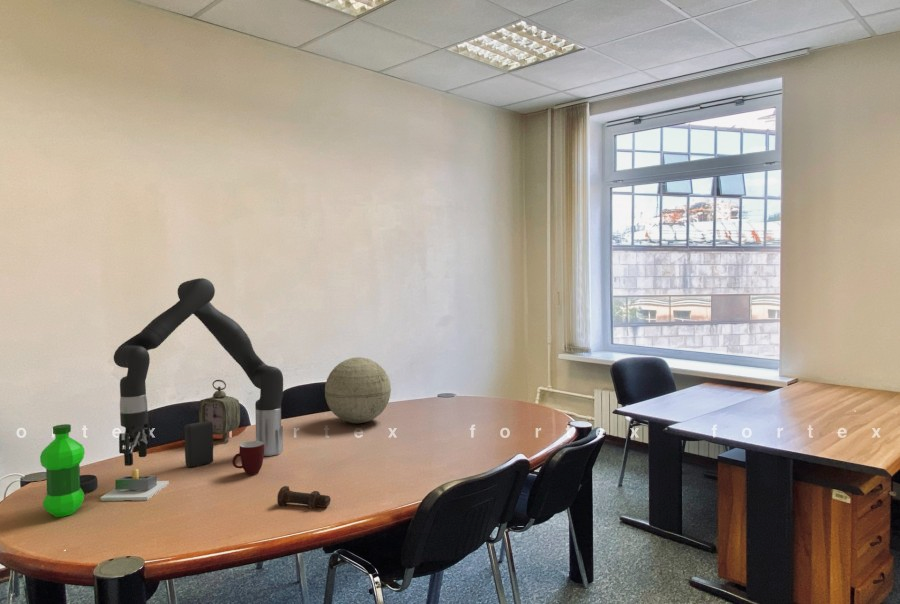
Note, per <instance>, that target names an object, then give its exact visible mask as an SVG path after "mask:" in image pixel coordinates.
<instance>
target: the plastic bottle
mask: <svg viewBox="0 0 900 604" xmlns="http://www.w3.org/2000/svg"><path fill="white" fill-rule="evenodd" d="M71 432H72V425H71V424H68V423H67V424H66V423H65V424H63V423H62V424H57V425H54V426H53V427H52V434H53V435H54V439H53V440H52V441H51V442H50V443H49V444H47V446H45V448H44V449H43V450H41V453H40V455H39V456H40V457H39V461H40V465H41V467H43V468H44V469H45V471H46V473H45V474H46V495H45V497H44V499H43V501H42V505H43V507H42V508H44V511H46V512H47V513H49V514H50V515H53V516H54V517H56V518H61V517H63V518H64V517H67V516H71V515H72V514H75V513H76V511H77V510H78V509H80V508H81V506H82V504H83V502H84V501H85V494H84V492H83V490H82V489H81V488H80V475H81V473H80V472H81V471H80V469H81V468H80V464H81V462H82V461H83V460H84V456H85V447H84V446H83V444H81V442H78V441H77V440H76V439H74V438H71V437H70V433H71Z"/></svg>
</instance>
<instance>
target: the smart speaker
mask: <svg viewBox="0 0 900 604" xmlns="http://www.w3.org/2000/svg"><path fill="white" fill-rule="evenodd" d="M98 481H99V480H98V477H97V476H96V475H93V474H80V488H81V489H82V490H83V492H84V495H85V494H88V493H91V492H93V491H95V490H96V489H97V488H98V485H99V484H98V483H99V482H98Z"/></svg>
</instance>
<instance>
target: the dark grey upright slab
mask: <svg viewBox="0 0 900 604" xmlns="http://www.w3.org/2000/svg"><path fill="white" fill-rule="evenodd" d="M183 429H184V459H185V460H184V461H185V467H187V468H194V467H193V466H195V467H198V465H199V466H203V464H204V465H207V463H208V464H212V463H213V462H214V434H213V423H212V422H211V421H204V422H199V421H198V422H194V423H193V422H192V423H188V424H187V423H186V424H185V425H184V428H183Z"/></svg>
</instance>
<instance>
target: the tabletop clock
mask: <svg viewBox="0 0 900 604" xmlns="http://www.w3.org/2000/svg"><path fill="white" fill-rule="evenodd" d="M216 382H220V383H223V385H224V387H221V386H218V387H216V386H215V383H216ZM226 387H227V383H226V382H225V381H224V380H222V379H215V380H214V381H213V382H212V388H213V389H214V390H216V391H215V392H214V393H213V394H212V396H210V397H207V398H203V399H200V400H199V403H198V404H199V405H198V422H204V421H211V422H212V423H213V435H222V439H223V438H225V439H223V441H224V443H225V444H226V443H229V439H228V433H230V432H233V431H235V430H237V429H238V428H239V426H240V423H241V407H240V406H241V405H240V401H239V399H238V398H235V397H234V396H229V395H227V393H226V391H224V390H225V389H226Z"/></svg>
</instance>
